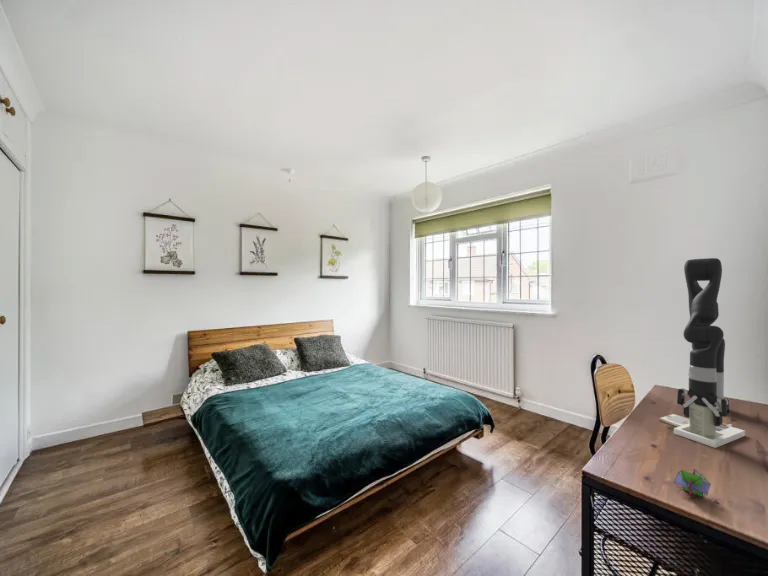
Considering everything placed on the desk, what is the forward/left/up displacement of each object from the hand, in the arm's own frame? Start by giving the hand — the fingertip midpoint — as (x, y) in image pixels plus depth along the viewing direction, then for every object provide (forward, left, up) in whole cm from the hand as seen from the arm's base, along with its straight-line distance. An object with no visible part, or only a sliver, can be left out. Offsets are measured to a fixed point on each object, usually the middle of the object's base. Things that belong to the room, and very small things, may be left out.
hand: (702, 421), depth 122 cm
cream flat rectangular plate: (-8, -11, -6) cm, 15 cm away
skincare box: (0, 0, -6) cm, 6 cm away
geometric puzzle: (+45, +16, -6) cm, 48 cm away
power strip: (-8, 0, -6) cm, 10 cm away
